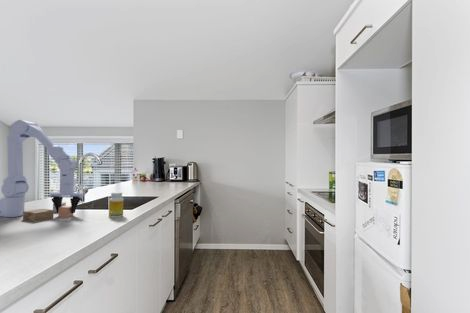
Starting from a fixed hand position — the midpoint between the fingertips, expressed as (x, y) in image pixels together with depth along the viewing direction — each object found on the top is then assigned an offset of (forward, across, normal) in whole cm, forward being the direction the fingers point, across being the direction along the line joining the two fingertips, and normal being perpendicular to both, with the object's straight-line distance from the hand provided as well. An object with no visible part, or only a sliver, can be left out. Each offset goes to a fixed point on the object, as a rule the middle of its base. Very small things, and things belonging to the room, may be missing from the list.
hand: (66, 212), depth 132 cm
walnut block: (+2, -8, -7) cm, 11 cm away
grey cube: (+2, -9, +11) cm, 14 cm away
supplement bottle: (+2, +23, 0) cm, 23 cm away
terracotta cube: (+2, 0, 0) cm, 2 cm away
